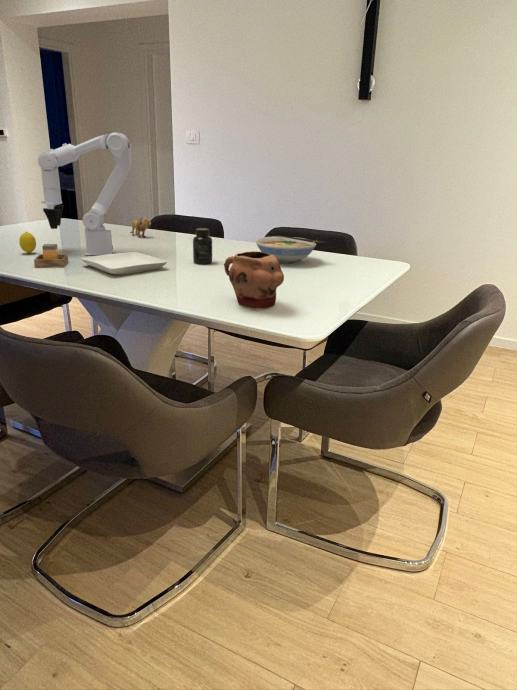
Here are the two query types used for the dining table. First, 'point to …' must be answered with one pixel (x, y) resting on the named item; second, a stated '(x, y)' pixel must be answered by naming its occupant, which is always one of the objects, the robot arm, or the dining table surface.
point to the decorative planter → (254, 278)
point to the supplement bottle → (202, 247)
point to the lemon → (27, 242)
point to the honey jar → (50, 251)
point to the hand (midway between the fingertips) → (55, 227)
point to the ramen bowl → (287, 247)
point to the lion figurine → (140, 226)
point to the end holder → (51, 261)
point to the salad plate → (124, 263)
